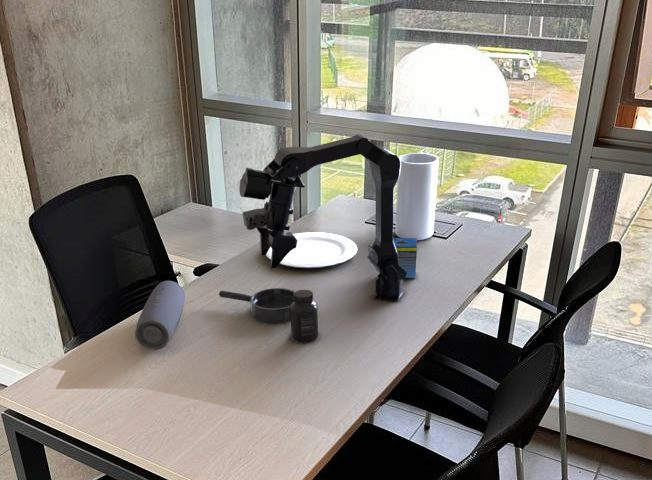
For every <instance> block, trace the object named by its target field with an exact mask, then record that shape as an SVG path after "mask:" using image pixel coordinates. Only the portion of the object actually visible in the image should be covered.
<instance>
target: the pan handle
mask: <svg viewBox="0 0 652 480" xmlns="http://www.w3.org/2000/svg"><path fill="white" fill-rule="evenodd" d="M253 295H254V294H246V293H239V292H233V291H228V290H227V291H226V290H220V291H219V292H218V296H219V297H220V298H224V299H230V300H235V301H243V302H249V303H251V302H250V300H251V297H252V296H253Z"/></svg>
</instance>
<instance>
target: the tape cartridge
mask: <svg viewBox="0 0 652 480" xmlns="http://www.w3.org/2000/svg"><path fill="white" fill-rule="evenodd" d="M393 242H394V245H395V248H396V251H397V254H398V261H399V266H400V267H401V268H402V269H404V270H405V271H406V272H407V274H406V277H405V279H416V277H417V259H418V258H417V256H418V240H417V238H400V237H393ZM401 242H402V243H401Z"/></svg>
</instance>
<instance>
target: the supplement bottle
mask: <svg viewBox="0 0 652 480" xmlns="http://www.w3.org/2000/svg"><path fill="white" fill-rule="evenodd" d="M293 301H294V302H293V303H292V304H291V306H290V334H291V335H290V336H291V339H292V340H294V341H295V342H297V343H300V344H301V343H302V344H308V343H311V342H315V341H316V340H318V337H319V310H318V304H317V302H315V301H314V292H313V291H312V290H310V289H299V290H296V291H295V292H294V294H293Z"/></svg>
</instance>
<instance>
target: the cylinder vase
mask: <svg viewBox="0 0 652 480" xmlns="http://www.w3.org/2000/svg"><path fill="white" fill-rule="evenodd" d="M398 158H399V159H400V161H401V169H400V174H399V179H398V181H397V183H396V201H395V225H394V226H395V227H394V232H395V235H396V236H397V238H417V241H422V240H427V239H430V238H431V237H432V236H433V234H434V229H435V215H436V214H435V213H436V200H437V185H438V174H439V173H438V172H439V156H437V155H434V154H431V153H423V152H412V153H411V152H410V153H405V154H402V155H399V156H398Z"/></svg>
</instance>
